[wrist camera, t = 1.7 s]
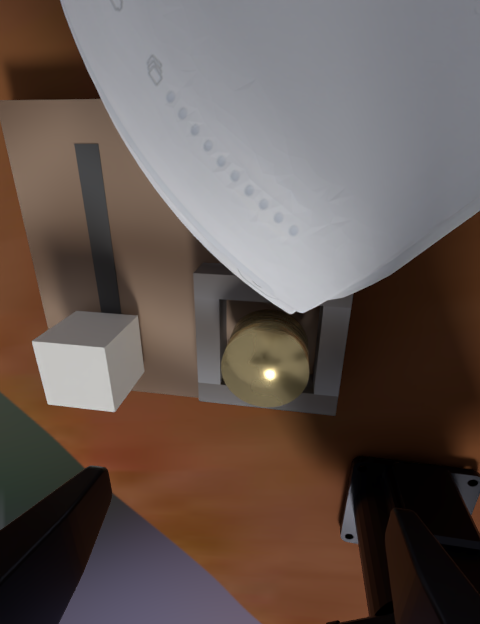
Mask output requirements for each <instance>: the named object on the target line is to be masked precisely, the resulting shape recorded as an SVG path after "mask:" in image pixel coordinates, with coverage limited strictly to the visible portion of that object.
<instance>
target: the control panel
mask: <svg viewBox="0 0 480 624" xmlns="http://www.w3.org/2000/svg"><path fill="white" fill-rule="evenodd" d="M0 121H1V125H2V130H3V134H4V139H5V143H6V147H7V152H8V156H9V160H10V165H11V169H12V173H13V178H14V182H15V186H16V191H17V195H18V199H19V204H20V208H21V212H22V217H23V221H24V225H25V230H26V234H27V238H28V243H29V247H30V251H31V256H32V260H33V265H34V269H35V273H36V278H37V282H38V286H39V291H40V295H41V299H42V304H43V308H44V312H45V317H46V321H47V325H48V330H49V329H50V328H52V327H53V326H55V325H56V324H58V323H59V322H61V321H62V320H64V319H65V318H67V317H68V316H69V315H71V314H72V313H74V312H75V311H86V312H99V313H112V314H125V315H138V321H139V330H140V339H141V347H142V356H143V365H144V373H143V374H142V376H141V377H140V379H139V380H138V381H137V383H136V384H135V385H134V387H133V388H132V390H131V391H141V392H150V393H159V394H169V395H178V396H187V397H197V398H199V401H204V402H213V403H222V404H231V405H240V406H250V407H259V406H255V405H251V404H249V403H246V402H244V401H242V400H241V399H239V398H238V397H237V396H235V395H234V394H233V393H232V392H231V391H230V390H229V388H228V387H227V385H226V384H225V382H224V379H223V377H222V373H221V361H222V357H223V354H224V352H225V349H226V347H227V344H228V342H229V339H230V336H231V334H232V331H233V329H234V327H235V325H236V324H237V323H238V321H239V320H240V319H241V318H243V317H244V316H245V315H247V314H249V313H251V312H254V311H257V310H262V309H273V310H278V311H282V312H284V313H287V312H285V311H284V310H282V309H281V308H279V307H278V306H276V305H274V304H273V303H272V302H270V301H269V300H267V299H266V298H264V297H263V296H262V295H260V294H259V293H258V292H256V291H255V290H254V289H252V288H251V287H250V286H248V285H247V284H246V283H245V282H243V281H242V280H241V279H240V278H238V277H237V276H236V275H235V274H234V273H232V272H231V271H230V270H229V269H228V268H227V267H226V266H224V265H223V264H222V263H221V262H220V261H219V260H218V259H217V258H216V257H215V256H214V255H213V254H212V253H210V252H209V251H208V250H207V249H206V248H205V247H204V246H203V244H202V243H201V242H200V241H199V240H198V239H197V238H196V237H195V236H194V235H193V234H192V233H191V232H190V231H189V230H188V229H187V228H186V226H185V225H184V224H183V223H182V222H181V221H180V220H179V218H178V217H177V216H176V215H175V214H174V212H173V211H172V210H171V209H170V207H169V206H168V205H167V204H166V202H165V201H164V200H163V199H162V197H161V196H160V195H159V193H158V192H157V191H156V190H155V188H154V187H153V185H152V184H151V183H150V181H149V180H148V178H147V177H146V175H145V174H144V173H143V171H142V170H141V168H140V167H139V165H138V164H137V162H136V160H135V159H134V157H133V156H132V154H131V153H130V151H129V149H128V148H127V146H126V145H125V143H124V141H123V139H122V138H121V136H120V134H119V132H118V131H117V129H116V127H115V125H114V124H113V122H112V120H111V118H110V116H109V114H108V112H107V110H106V108H105V106H104V104H103V102H102V100H101V99H65V100H0ZM352 299H353V294H351V295H348V296H346V297H343V298H338V299H332V300H327V301H325V302H324V303H322V304H320V305H318V306H317V307H315V308H313V309H310V310H308V311H306V312H304V313H299V312H297V311H296V312H294V313H293V314H289V313H287V314H288V315H290V316H292V317H293V318H295V319H296V320H297V321H298V322H299V323H300V324H301V326H302V327H303V329H304V330H305V333H306V335H307V339H308V351H309V379H308V383H307V385H306V387H305V389H304V390H303V392H302V393H301V394H300V395H299V396H298V397H297V398H296V399H294V400H293V401H291V402H289V403H287V404H285V405H282V406H277V407H259V408H268V409H277V410H286V411H295V412H305V413H314V414H323V415H332V416H335V415H336V408H337V401H338V395H339V388H340V381H341V374H342V367H343V361H344V354H345V347H346V340H347V333H348V327H349V320H350V313H351V306H352Z"/></svg>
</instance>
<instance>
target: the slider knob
mask: <svg viewBox="0 0 480 624" xmlns="http://www.w3.org/2000/svg"><path fill="white" fill-rule="evenodd" d="M32 344H33V348H34V352H35V356H36V360H37V363H38V367H39V371H40V375H41V379H42V383H43V387H44V391H45V395H46V399H47V403H48V404H50V405H58V406H67V407H75V408H84V409H93V410H101V411H110V412H115V411H116V410H117V409H118V407H119V406H120V405H121V403H122V402H123V400H124V399H125V398H126V396H127V395H128V394H129V392H130V391H131V390H132V388H133V387H134V385H135V384H136V383H137V381H138V380H139V379H140V377H141V376H142V374H143V373H144V365H143V356H142V347H141V339H140V330H139V321H138V315H125V314H112V313H99V312H86V311H75V312H74V313H72V314H71V315H69V316H68V317H67V318H65V319H64V320H62V321H61V322H59V323H58V324H56V325H55V326H53V327H52V328H50V329H49V330H47V331H46V332H45V333H43V334H42V335H40V336H39V337H37V338H36V339H34V340H33V341H32Z"/></svg>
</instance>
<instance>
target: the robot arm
mask: <svg viewBox="0 0 480 624" xmlns="http://www.w3.org/2000/svg"><path fill="white" fill-rule="evenodd" d="M362 465H364V467H360V466H362ZM472 479H473V480H472ZM479 494H480V474H479V473H478V472H477V471H475V470H470V469H462V468H454V467H446V466H437V465H429V464H421V463H413V462H405V461H397V460H389V459H381V458H372V457H364V456H359V457H356V458H355V459H353V461H352V466H351V472H350V477H349V483H348V488H347V493H346V499H345V504H344V510H343V515H342V521H341V526H340V534H341V538H342V540H344V541H346V542H351V543H357V544H358V545H359V551H360V558H361V565H362V571H363V578H364V585H365V592H366V598H367V605H368V612H369V617H366V618H361V619H356V620H351V621H346V622H341V623H340V622H339V621H338V620H337V621H332V622H327V623H326V624H480V533H479V531H478V529H477V527H476V525H475V523H474V521H473V519H472V517H471V514H472V512H473V509H474V507H475V504H476V502H477V499H478V497H479ZM111 498H112V489H111V483H110V478H109V473H108V470H107V469H106V468H105V467H99V466H89V467H87V468H85V469H84V470H82V471H81V472H80V473H78V474H77V475H76V476H74V477H73V478H72V479H70V480H69V481H67V482H66V483H65V484H63V485H62V486H60V487H59V488H58V489H56V490H55V491H54V492H52V493H51V494H49V495H48V496H47V497H45V498H44V499H43V500H41V501H40V502H38V503H37V504H36V505H34V506H33V507H32V508H30V509H29V510H27V511H26V512H25V513H23V514H22V515H21V516H19V517H18V518H16V519H15V520H14V521H12V522H11V523H10V524H8V525H7V526H5V527H4V528H3V529H1V530H0V624H59V622H60V620H61V618H62V616H63V614H64V612H65V610H66V608H67V606H68V603H69V601H70V599H71V597H72V595H73V593H74V591H75V589H76V587H77V585H78V583H79V581H80V579H81V576H82V574H83V572H84V570H85V567H86V565H87V562H88V560H89V557H90V555H91V552H92V549H93V547H94V544H95V541H96V539H97V536H98V534H99V531H100V528H101V526H102V523H103V520H104V518H105V515H106V513H107V510H108V507H109V505H110V502H111Z"/></svg>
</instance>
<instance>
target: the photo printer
mask: <svg viewBox="0 0 480 624" xmlns="http://www.w3.org/2000/svg"><path fill="white" fill-rule="evenodd" d="M60 1H61V5H62V8H63V11H64V14H65V17H66V19H67V22H68V25H69V27H70V30H71V32H72V35H73V38H74V40H75V43H76V45H77V48H78V50H79V52H80V54H81V57H82V59H83V61H84V64H85V66H86V68H87V71H88V73H89V75H90V77H91V79H92V81H93V83H94V85H95V87H96V89H97V91H98V93H99V95H100V98H101V100H102V102H103V104H104V106H105V108H106V110H107V112H108V114H109V116H110V118H111V120H112V122H113V124H114V125H115V127H116V129H117V131H118V132H119V134H120V136H121V138H122V139H123V141H124V143H125V145H126V146H127V148H128V149H129V151H130V153H131V154H132V156H133V157H134V159H135V160H136V162H137V164H138V165H139V167H140V168H141V170H142V171H143V173H144V174H145V175H146V177H147V178H148V180H149V181H150V183H151V184H152V185H153V187H154V188H155V190H156V191H157V192H158V193H159V195H160V196H161V197H162V199H163V200H164V201H165V202H166V204H167V205H168V206H169V207H170V209H171V210H172V211H173V212H174V214H175V215H176V216H177V217H178V218H179V220H180V221H181V222H182V223H183V224H184V225H185V226H186V228H187V229H188V230H189V231H190V232H191V233H192V234H193V235H194V236H195V237H196V238H197V239H198V240H199V241H200V242H201V243H202V244H203V246H204V247H205V248H206V249H207V250H208V251H209V252H210V253H212V254H213V255H214V256H215V257H216V258H217V259H218V260H219V261H220V262H221V263H222V264H223V265H224V266H226V267H227V268H228V269H229V270H230V271H231V272H232V273H234V274H235V275H236V276H237V277H238V278H240V279H241V280H242V281H243V282H245V283H246V284H247V285H248V286H250V287H251V288H252V289H254V290H255V291H256V292H258V293H259V294H260V295H262V296H263V297H264V298H266V299H267V300H269V301H270V302H272V303H273V304H274V305H276V306H278V307H279V308H281V309H282V310H284V311H285V312H287V313H289V314H293V313H294V312H296V311H297V312H299V313H304V312H306V311H308V310H310V309H313V308H315V307H317V306H318V305H320V304H322V303H324V302H325V301H327V300H332V299H338V298H343V297H346V296H348V295H351V294H353V293H355V292H357V291H359V290H362V289H364V288H366V287H368V286H370V285H373V284H374V283H376V282H378V281H380V280H382V279H384V278H386V277H388V276H390V275H391V274H393V273H394V272H395V271H397V270H398V269H400V268H401V267H402V266H404V265H405V264H407V263H408V262H409V261H411V260H412V259H414V258H415V257H416V256H418V255H419V254H420V253H422V252H423V251H425V250H426V249H427V248H429V247H430V246H432V245H433V244H434V243H436V242H437V241H438V240H440V239H441V238H443V237H444V236H445V235H447V234H448V233H450V232H451V231H452V230H454V229H455V228H457V227H458V226H459V225H461V224H462V223H464V222H465V221H466V220H468V219H469V218H470V217H472V216H473V215H475V214H476V213H477V212H479V211H480V0H60Z"/></svg>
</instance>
